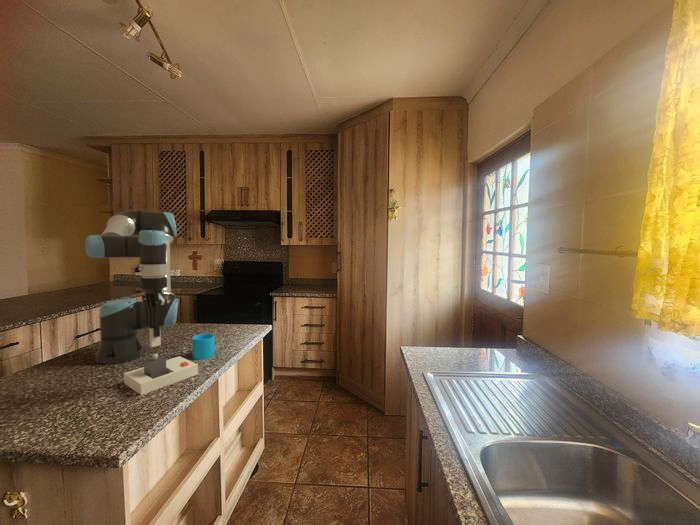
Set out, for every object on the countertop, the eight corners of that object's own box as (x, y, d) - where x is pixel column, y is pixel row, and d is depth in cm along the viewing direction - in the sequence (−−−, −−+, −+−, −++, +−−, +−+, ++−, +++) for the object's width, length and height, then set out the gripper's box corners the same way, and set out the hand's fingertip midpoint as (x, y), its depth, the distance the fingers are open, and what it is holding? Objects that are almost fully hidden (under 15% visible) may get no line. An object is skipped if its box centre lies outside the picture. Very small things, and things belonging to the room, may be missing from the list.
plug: (159, 375, 103) (159, 350, 102) (166, 379, 100) (165, 353, 100) (144, 380, 99) (143, 354, 98) (151, 384, 96) (150, 358, 96)
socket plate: (124, 383, 98) (123, 371, 97) (179, 365, 113) (179, 354, 112) (141, 395, 91) (141, 382, 90) (198, 374, 106) (198, 362, 105)
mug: (210, 359, 119) (210, 339, 118) (189, 359, 118) (189, 340, 117) (219, 348, 131) (219, 330, 130) (200, 348, 130) (199, 330, 129)
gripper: (132, 276, 98) (134, 344, 99) (150, 279, 91) (152, 353, 92) (156, 274, 104) (158, 338, 106) (175, 277, 97) (176, 346, 99)
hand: (155, 345), depth 99 cm, fingers closed
